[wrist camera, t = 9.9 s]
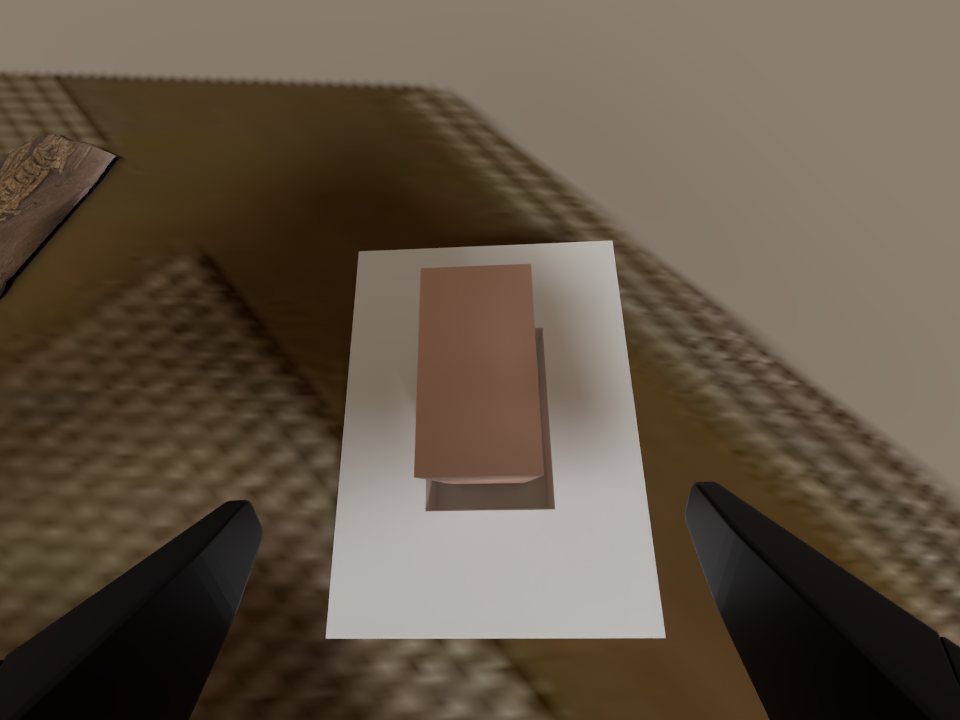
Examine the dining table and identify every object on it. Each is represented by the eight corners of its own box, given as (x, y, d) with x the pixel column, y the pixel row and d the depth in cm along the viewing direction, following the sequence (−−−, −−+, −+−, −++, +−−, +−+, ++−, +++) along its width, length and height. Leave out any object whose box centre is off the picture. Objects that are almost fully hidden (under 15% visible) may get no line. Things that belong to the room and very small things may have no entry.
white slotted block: (631, 607, 18) (665, 637, 14) (361, 608, 19) (325, 638, 15) (593, 282, 23) (612, 240, 19) (382, 290, 23) (358, 251, 20)
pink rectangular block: (522, 483, 19) (543, 474, 9) (457, 485, 19) (414, 477, 10) (517, 369, 21) (531, 263, 11) (457, 371, 21) (420, 268, 11)
